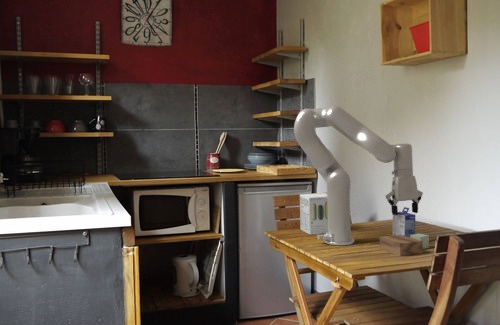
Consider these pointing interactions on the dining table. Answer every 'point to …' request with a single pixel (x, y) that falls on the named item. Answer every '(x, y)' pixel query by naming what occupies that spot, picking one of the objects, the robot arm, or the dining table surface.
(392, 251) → the walnut block
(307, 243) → the dining table surface
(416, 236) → the sage cube
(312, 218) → the supplement box
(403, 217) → the ink cartridge box
